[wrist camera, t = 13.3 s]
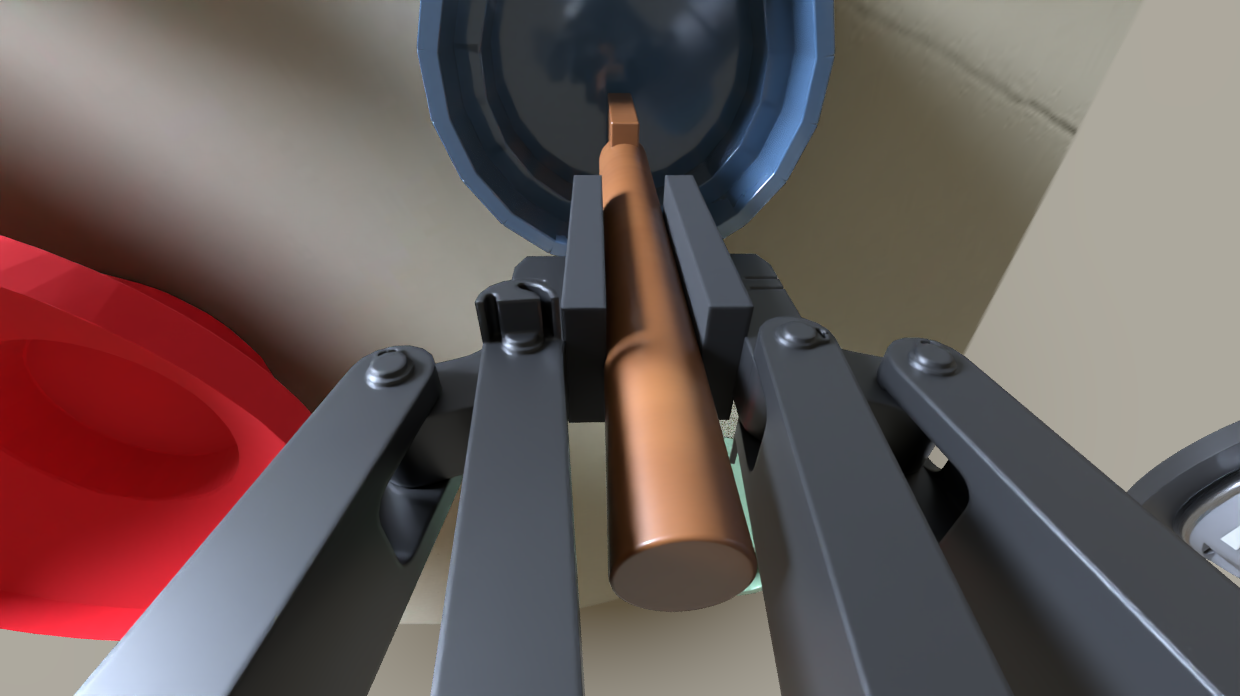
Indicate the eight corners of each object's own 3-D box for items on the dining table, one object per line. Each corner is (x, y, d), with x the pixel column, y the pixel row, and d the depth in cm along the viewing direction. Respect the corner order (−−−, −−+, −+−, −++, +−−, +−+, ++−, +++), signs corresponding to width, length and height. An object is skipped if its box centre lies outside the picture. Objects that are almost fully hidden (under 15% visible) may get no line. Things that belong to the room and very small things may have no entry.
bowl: (-202, 388, 31) (-476, 533, 23) (-190, -54, 18) (-782, -68, 10) (290, 554, 45) (225, 679, 37) (487, 368, 32) (454, 498, 24)
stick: (640, 92, 21) (788, 497, 5) (637, 169, 23) (736, 634, 7) (598, 92, 21) (608, 502, 5) (598, 169, 23) (608, 638, 7)
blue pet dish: (825, -161, 18) (900, -202, 13) (752, 218, 27) (782, 267, 22) (419, -176, 17) (360, -223, 13) (483, 218, 26) (461, 269, 22)
